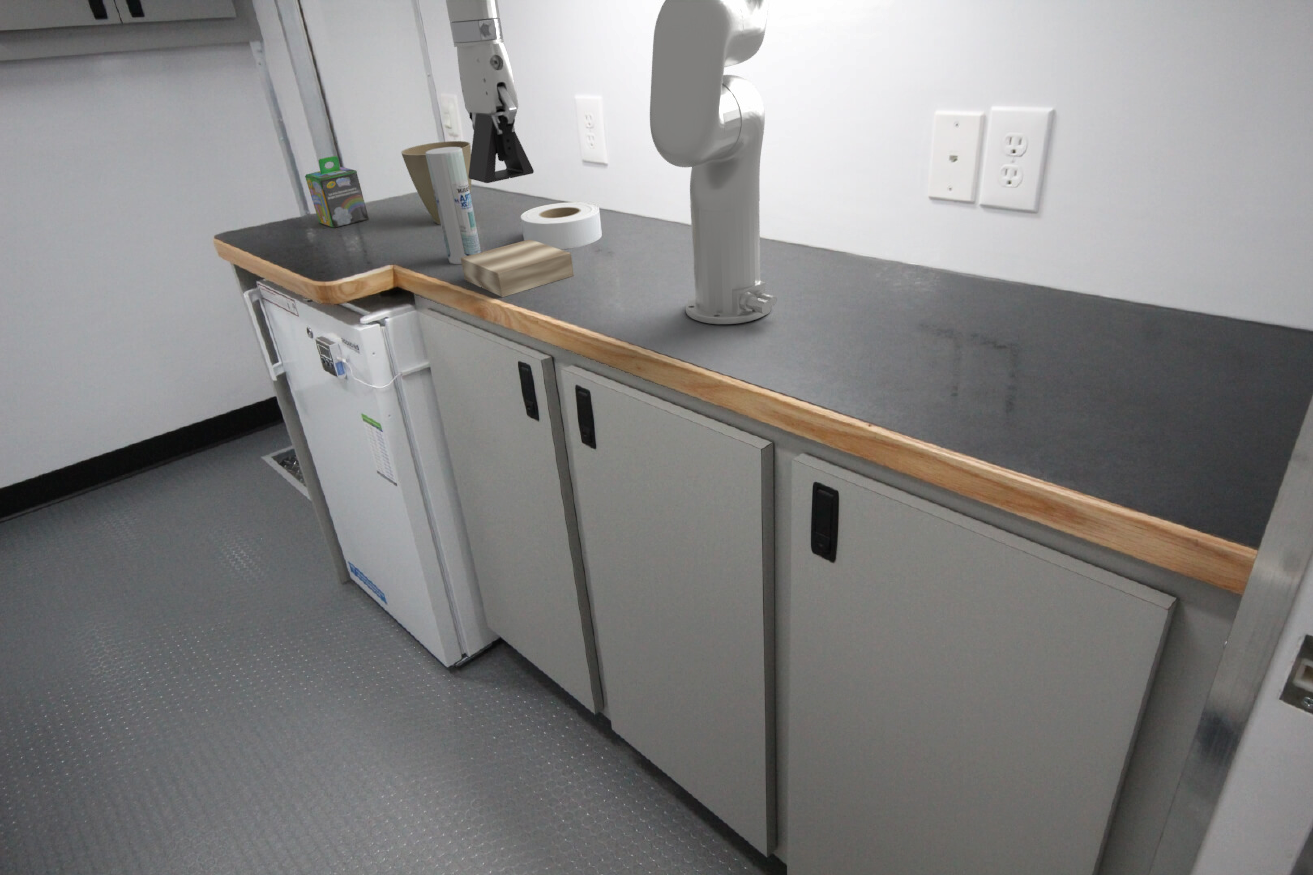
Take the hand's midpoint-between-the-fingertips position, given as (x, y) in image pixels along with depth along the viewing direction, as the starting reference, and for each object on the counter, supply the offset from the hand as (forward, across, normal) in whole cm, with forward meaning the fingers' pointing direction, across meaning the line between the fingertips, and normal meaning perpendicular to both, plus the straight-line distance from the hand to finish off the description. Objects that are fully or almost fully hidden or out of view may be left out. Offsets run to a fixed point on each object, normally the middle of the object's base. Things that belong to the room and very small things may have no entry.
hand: (498, 156), depth 129 cm
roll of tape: (+21, +15, -19) cm, 32 cm away
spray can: (+21, +19, +1) cm, 28 cm away
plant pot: (+21, +51, -11) cm, 56 cm away
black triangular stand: (+3, 0, 0) cm, 3 cm away
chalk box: (+21, +74, +6) cm, 77 cm away
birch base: (+20, 0, 0) cm, 20 cm away
